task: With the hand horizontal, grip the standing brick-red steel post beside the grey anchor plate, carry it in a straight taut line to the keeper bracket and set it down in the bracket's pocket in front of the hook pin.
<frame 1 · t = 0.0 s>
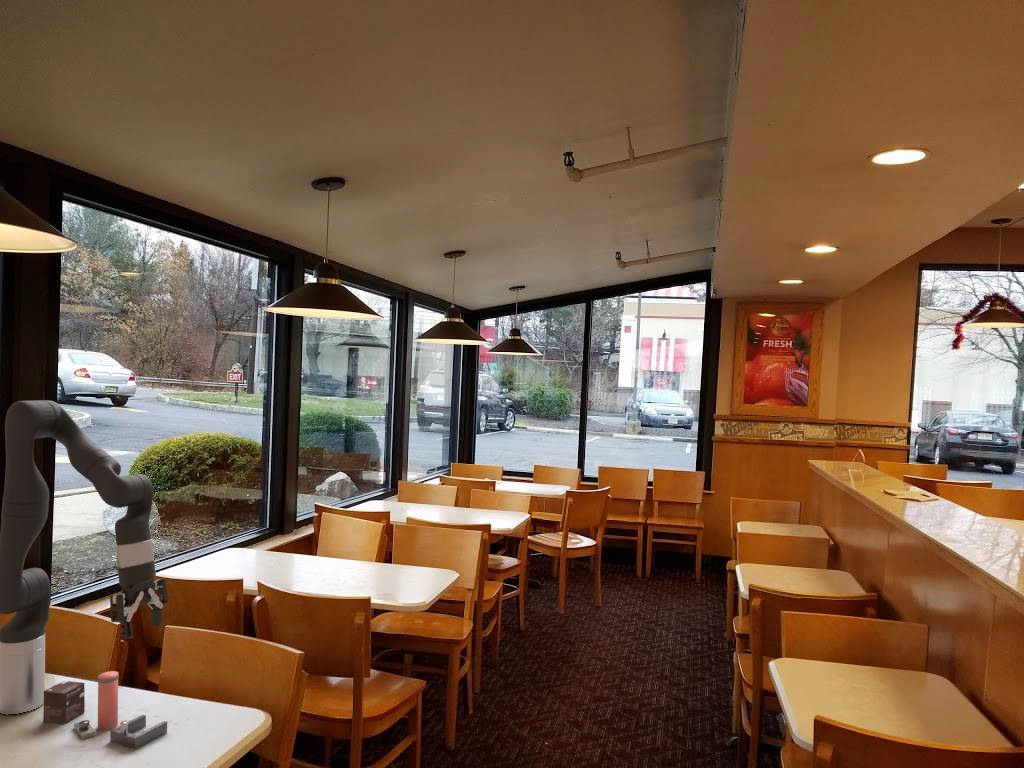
hand: (143, 631, 158), 22 cm above the table, tool pointing down, fingers open, 8 cm apart
keeper: (141, 736, 155), on the table
anchor plate: (84, 731, 156), on the table
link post: (107, 726, 159), on the table
box: (64, 718, 163), on the table
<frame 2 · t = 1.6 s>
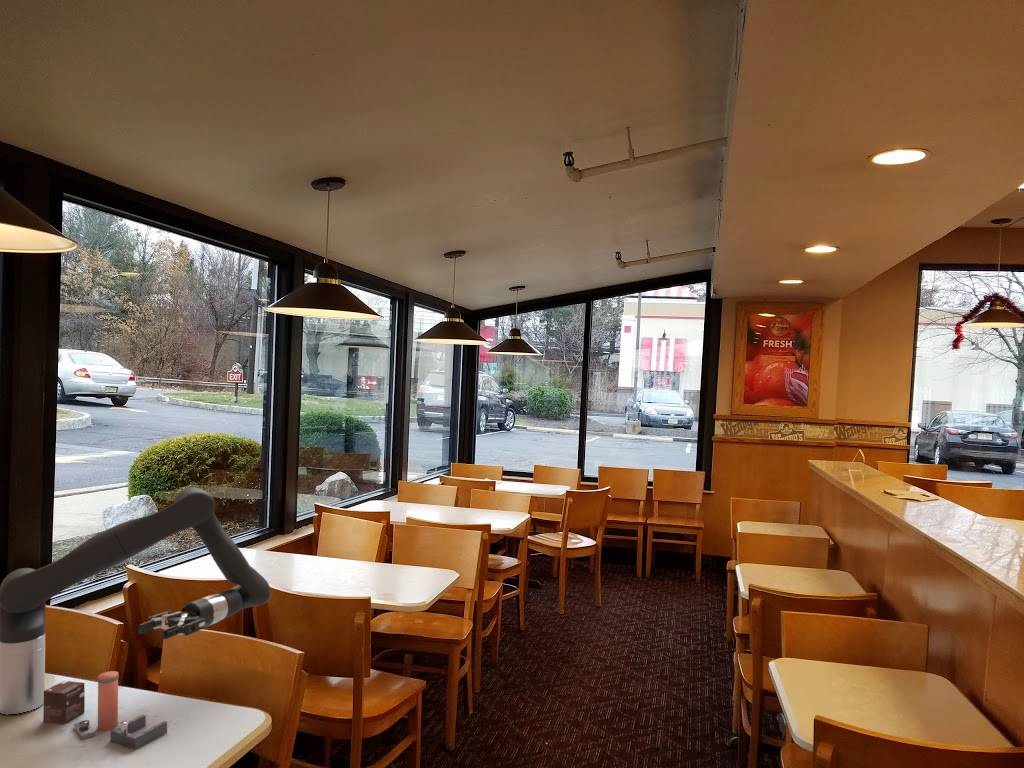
hand: (150, 632, 169), 18 cm above the table, tool horizontal, fingers open, 8 cm apart
nothing on the table moved.
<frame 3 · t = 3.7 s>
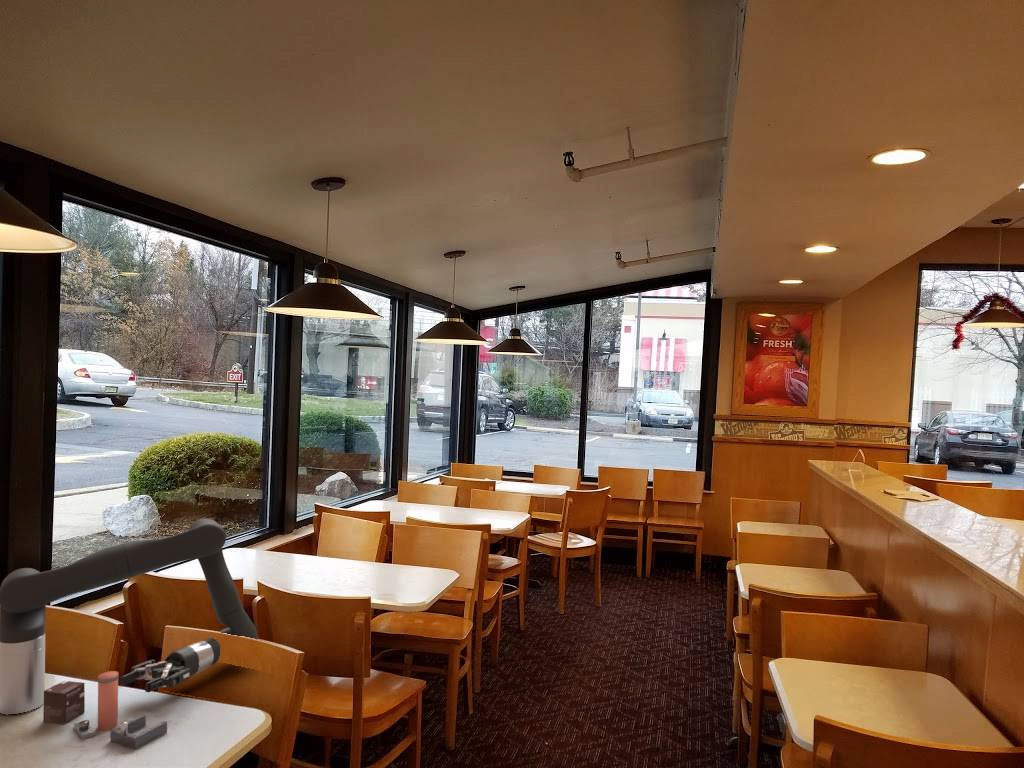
hand: (133, 684, 165), 7 cm above the table, tool horizontal, fingers open, 8 cm apart
nothing on the table moved.
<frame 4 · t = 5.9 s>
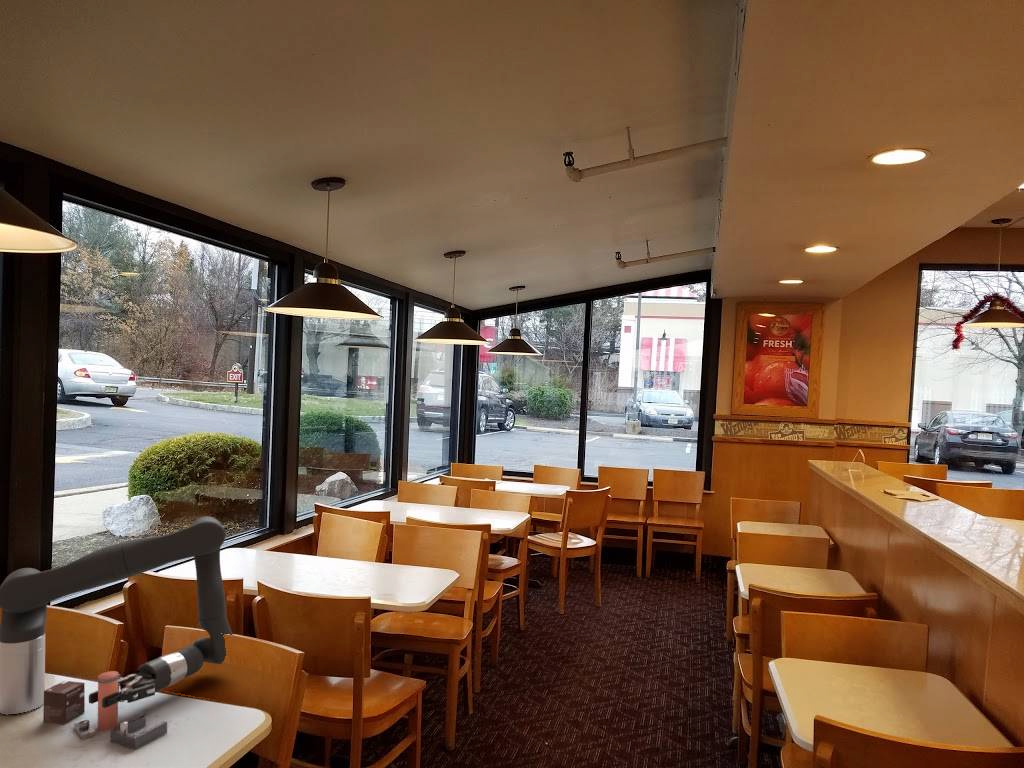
hand: (96, 701, 156), 7 cm above the table, tool horizontal, fingers closed on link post, 4 cm apart
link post: (107, 726, 159), on the table, touching gripper
everything else where it was.
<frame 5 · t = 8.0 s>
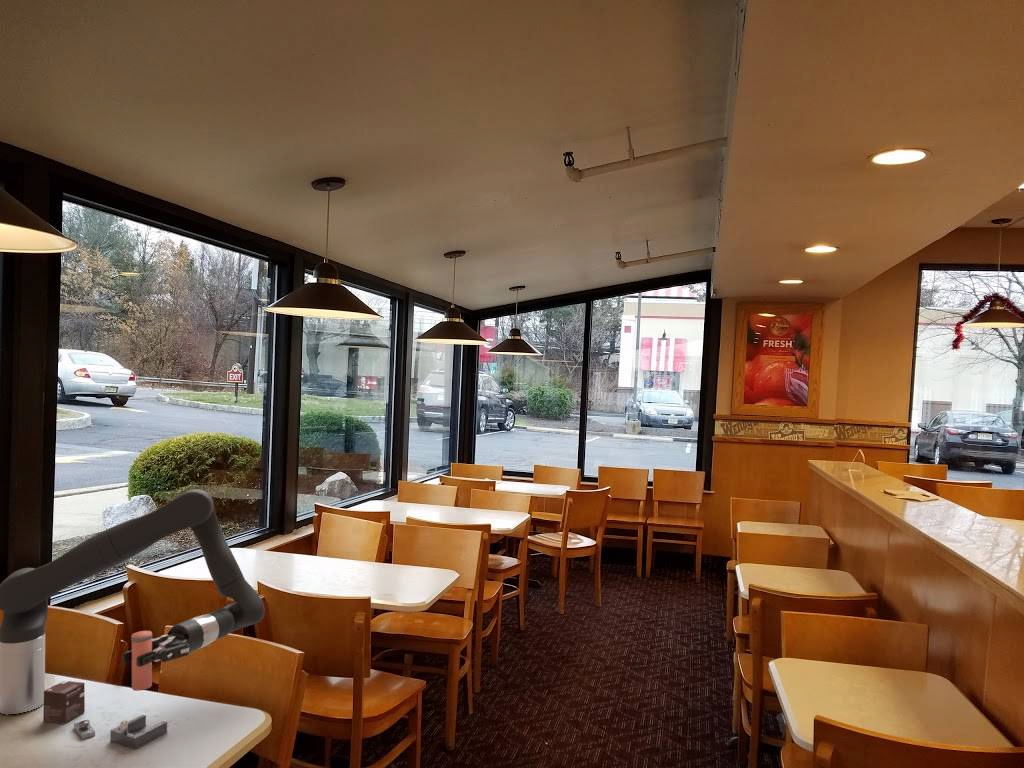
hand: (130, 660, 153), 18 cm above the table, tool horizontal, fingers closed on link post, 4 cm apart
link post: (142, 686, 155), point 11 cm above the table, touching gripper
everything else where it was.
when the fingers open (8 cm above the table, at t = 10.2 s): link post drops 1 cm, on the table.
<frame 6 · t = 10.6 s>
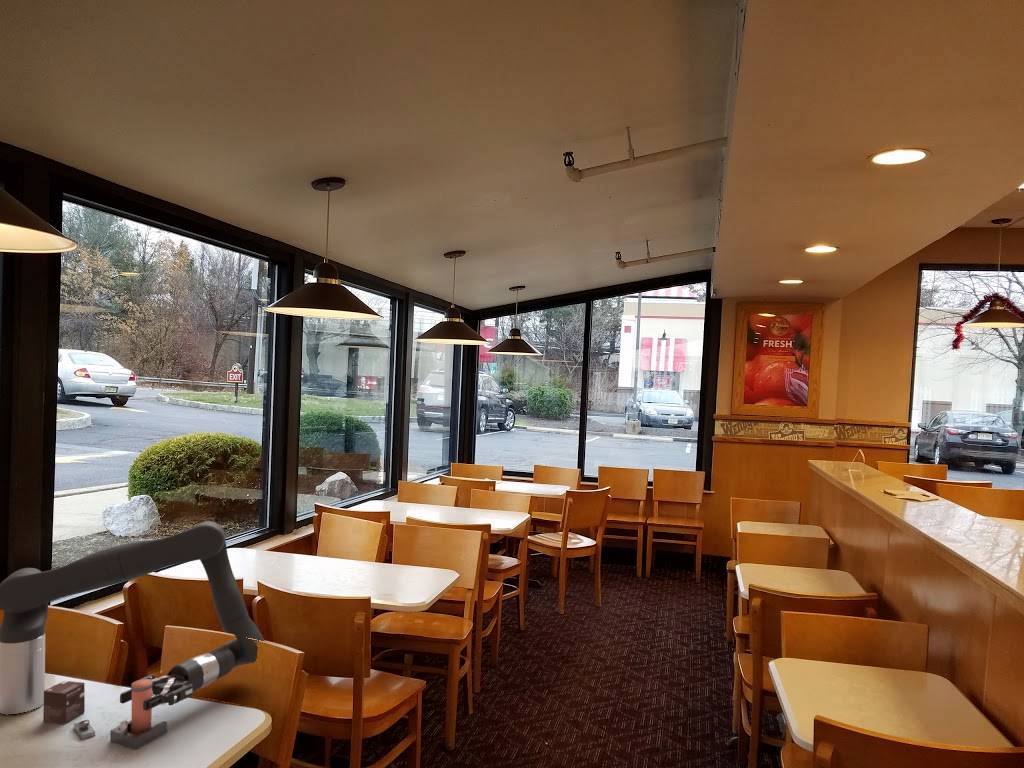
hand: (132, 702, 153), 8 cm above the table, tool horizontal, fingers open, 7 cm apart
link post: (141, 735, 155), on the table
everything else where it was.
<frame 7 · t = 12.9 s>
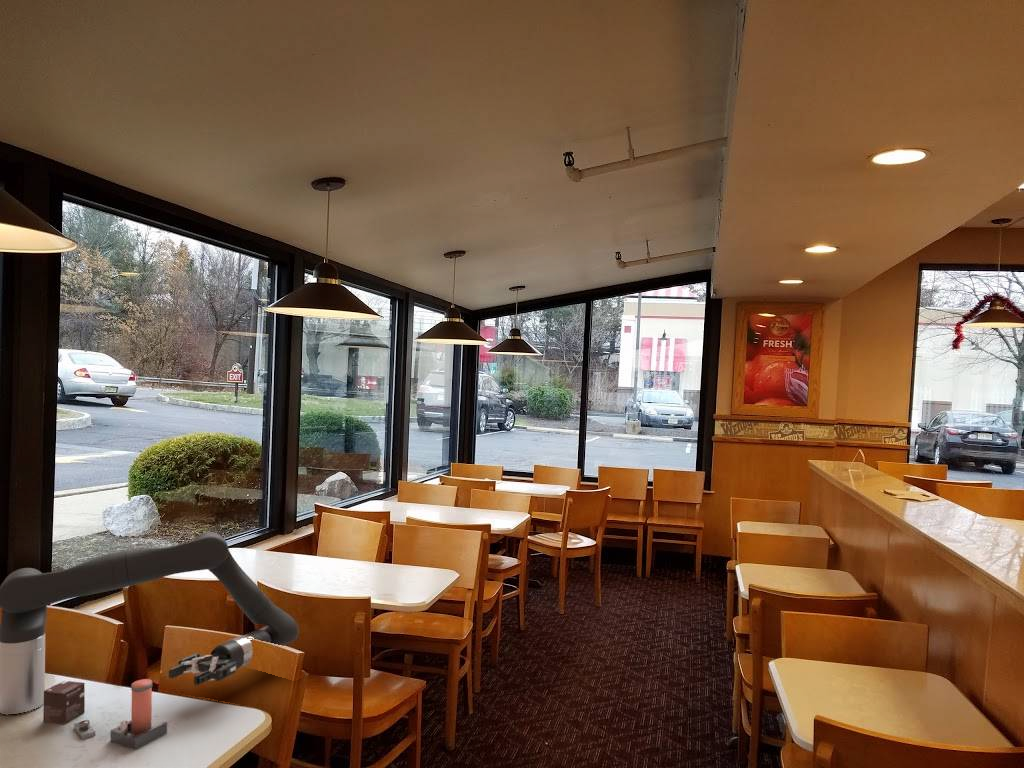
hand: (182, 677, 165), 9 cm above the table, tool horizontal, fingers open, 8 cm apart
nothing on the table moved.
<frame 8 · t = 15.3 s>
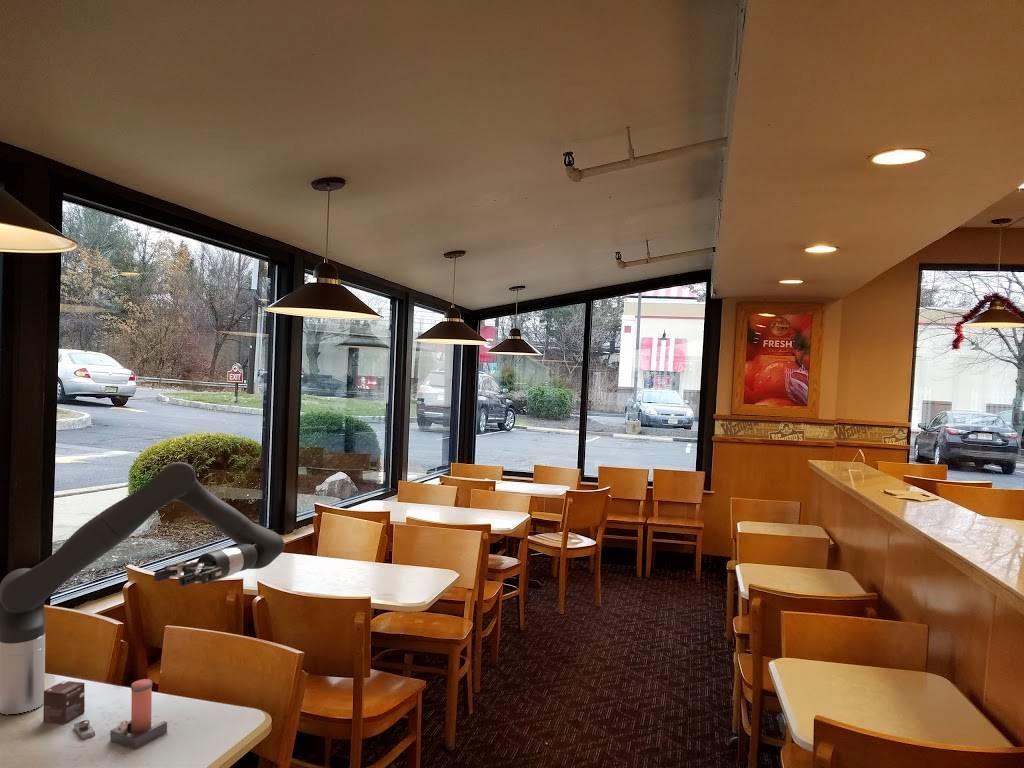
hand: (167, 579, 166), 32 cm above the table, tool horizontal, fingers open, 8 cm apart
nothing on the table moved.
at the end: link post 0.1 cm off-centre on the keeper, point 0.0 cm above the keeper's base; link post tilted 0°; the gripper is holding nothing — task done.
